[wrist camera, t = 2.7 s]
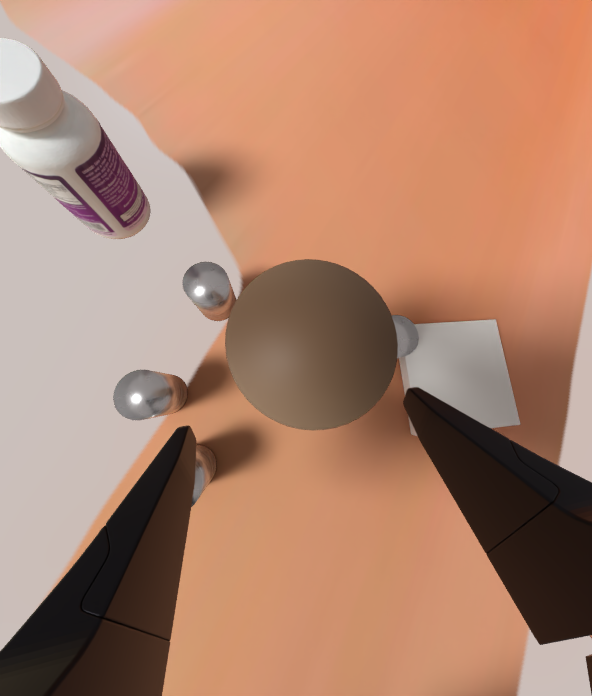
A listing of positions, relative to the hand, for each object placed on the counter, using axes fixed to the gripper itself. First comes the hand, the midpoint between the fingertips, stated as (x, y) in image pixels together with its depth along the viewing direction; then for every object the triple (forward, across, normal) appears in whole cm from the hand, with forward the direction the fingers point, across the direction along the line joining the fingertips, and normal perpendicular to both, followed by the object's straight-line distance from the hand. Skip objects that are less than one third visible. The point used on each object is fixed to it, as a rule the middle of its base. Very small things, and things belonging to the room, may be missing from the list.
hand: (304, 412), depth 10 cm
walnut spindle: (+8, 0, +6) cm, 10 cm away
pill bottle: (+20, +12, -6) cm, 24 cm away
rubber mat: (+7, -14, +7) cm, 17 cm away
